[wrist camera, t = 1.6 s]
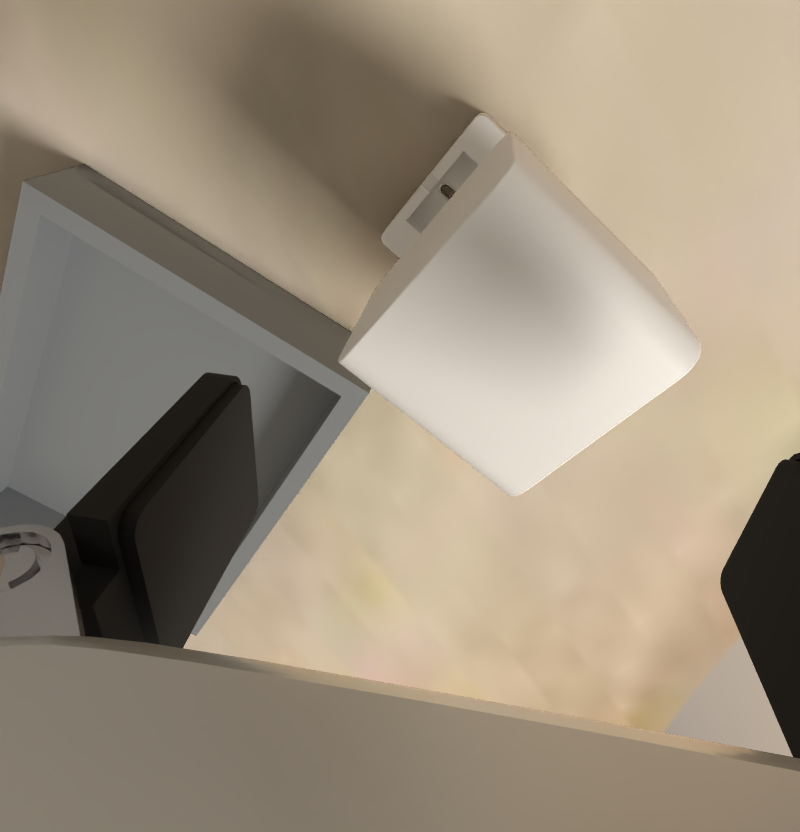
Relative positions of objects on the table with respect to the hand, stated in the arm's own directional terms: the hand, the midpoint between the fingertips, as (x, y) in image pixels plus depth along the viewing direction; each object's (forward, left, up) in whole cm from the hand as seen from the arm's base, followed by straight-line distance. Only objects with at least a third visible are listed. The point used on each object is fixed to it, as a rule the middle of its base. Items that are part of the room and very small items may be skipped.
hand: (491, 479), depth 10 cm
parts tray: (+10, -15, -14) cm, 23 cm away
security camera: (-1, 0, -14) cm, 14 cm away
